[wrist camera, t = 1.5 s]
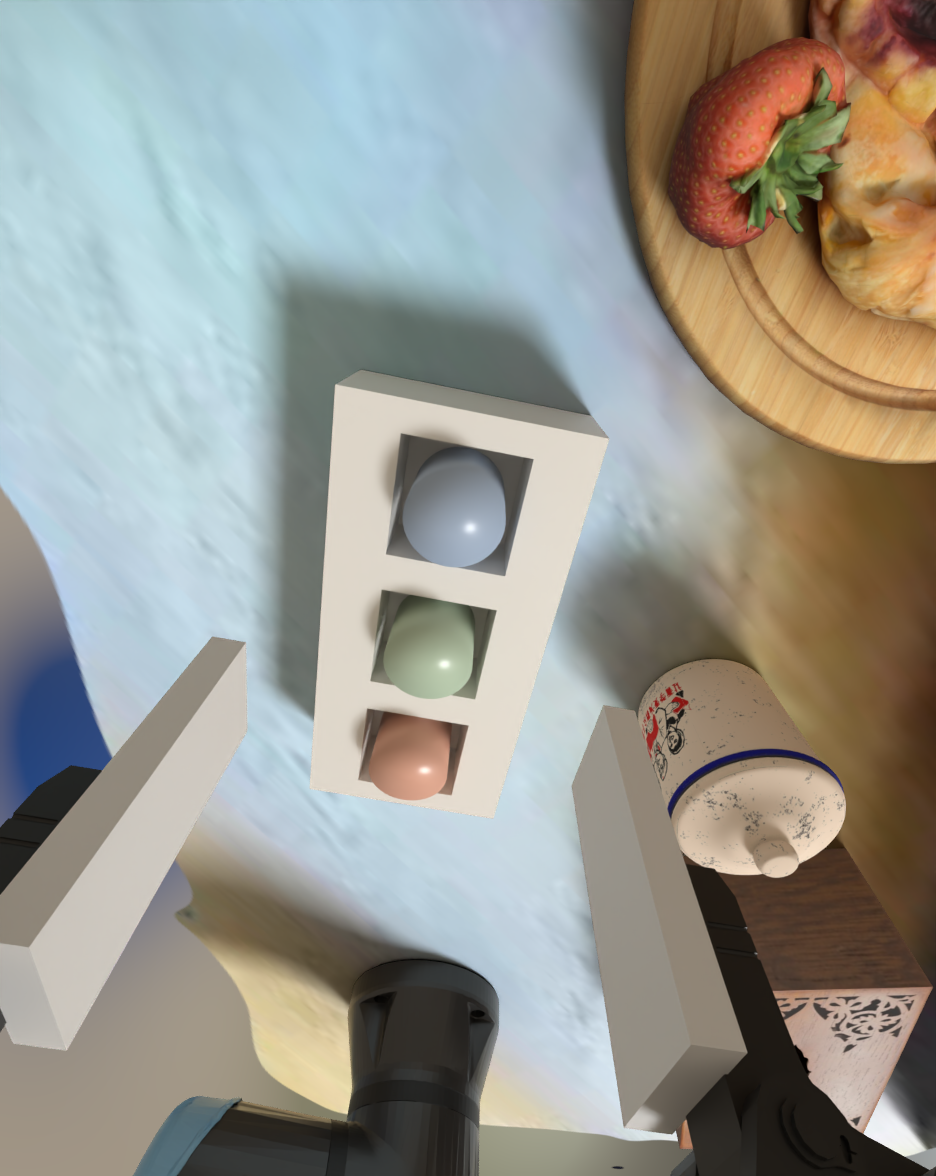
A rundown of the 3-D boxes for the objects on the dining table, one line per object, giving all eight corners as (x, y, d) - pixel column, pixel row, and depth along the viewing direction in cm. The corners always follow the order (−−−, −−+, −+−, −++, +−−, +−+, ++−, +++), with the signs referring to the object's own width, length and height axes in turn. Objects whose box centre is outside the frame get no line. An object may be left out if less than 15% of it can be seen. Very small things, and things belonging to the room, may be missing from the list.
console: (493, 761, 40) (493, 818, 36) (330, 733, 40) (309, 788, 35) (591, 415, 28) (609, 438, 24) (360, 369, 28) (335, 384, 23)
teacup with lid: (641, 652, 35) (701, 801, 25) (787, 652, 35) (910, 804, 24) (621, 785, 41) (663, 951, 31) (747, 787, 40) (833, 956, 30)
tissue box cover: (798, 1012, 55) (855, 1149, 46) (651, 1016, 57) (679, 1148, 48) (843, 845, 43) (932, 986, 34) (655, 855, 45) (695, 992, 36)
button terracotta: (445, 756, 37) (440, 805, 33) (377, 745, 36) (365, 793, 33) (457, 704, 35) (453, 751, 31) (385, 691, 34) (372, 737, 31)
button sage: (467, 661, 33) (463, 705, 29) (391, 647, 33) (378, 690, 29) (482, 595, 31) (480, 635, 27) (400, 580, 30) (388, 618, 27)
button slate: (494, 541, 29) (494, 575, 26) (408, 525, 29) (396, 557, 25) (513, 456, 27) (516, 481, 23) (420, 438, 27) (409, 461, 23)
